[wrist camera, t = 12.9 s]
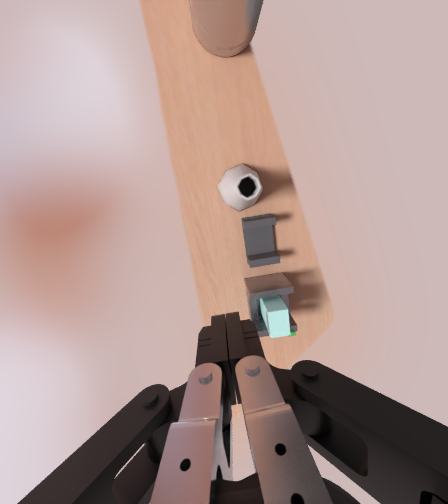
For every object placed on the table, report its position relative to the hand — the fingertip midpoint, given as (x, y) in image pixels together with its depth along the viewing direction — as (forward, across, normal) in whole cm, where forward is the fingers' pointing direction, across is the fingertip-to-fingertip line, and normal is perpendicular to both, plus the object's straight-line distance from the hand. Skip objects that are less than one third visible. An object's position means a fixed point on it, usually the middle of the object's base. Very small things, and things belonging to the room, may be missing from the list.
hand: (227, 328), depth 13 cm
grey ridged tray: (+28, -7, +2) cm, 29 cm away
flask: (+29, -5, -7) cm, 30 cm away
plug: (+27, -7, +14) cm, 31 cm away
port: (+28, -7, +13) cm, 32 cm away
